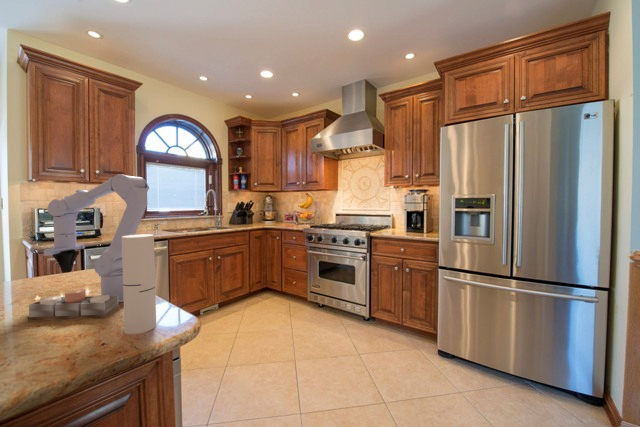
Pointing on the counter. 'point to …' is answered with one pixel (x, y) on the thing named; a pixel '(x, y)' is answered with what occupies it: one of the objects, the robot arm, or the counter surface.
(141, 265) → the cylindrical container
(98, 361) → the counter surface
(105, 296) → the knob
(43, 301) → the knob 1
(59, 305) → the mount
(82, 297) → the middle knob
